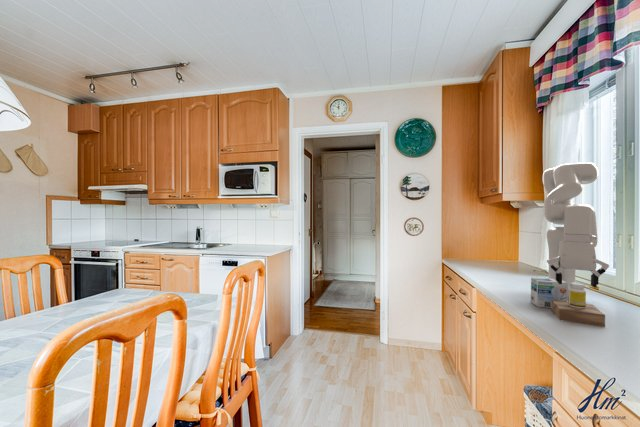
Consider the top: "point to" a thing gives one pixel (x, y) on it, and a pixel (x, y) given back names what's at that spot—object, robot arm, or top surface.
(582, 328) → the top surface
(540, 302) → the light bulb box
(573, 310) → the walnut stand
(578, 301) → the supplement bottle
